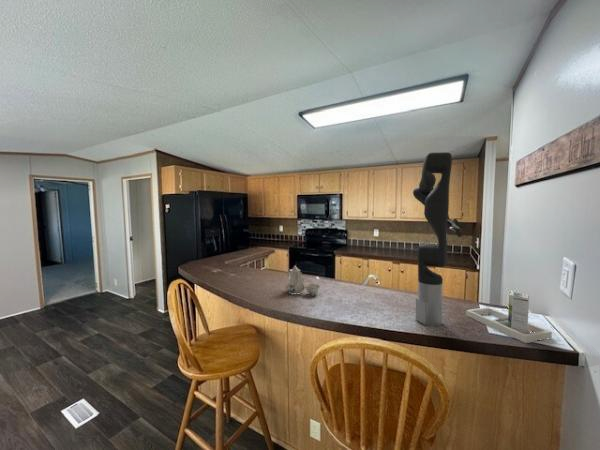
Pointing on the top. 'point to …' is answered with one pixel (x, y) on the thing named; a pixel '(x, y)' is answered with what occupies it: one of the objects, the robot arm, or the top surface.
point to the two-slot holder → (503, 325)
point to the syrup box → (518, 312)
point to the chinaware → (299, 283)
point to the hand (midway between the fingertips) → (453, 236)
